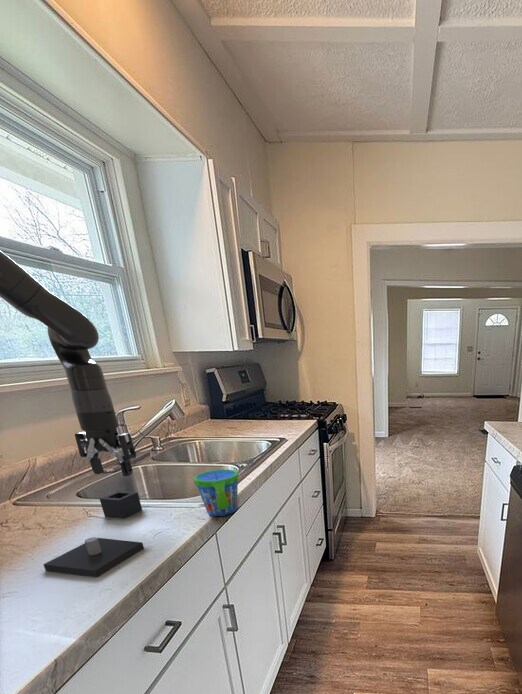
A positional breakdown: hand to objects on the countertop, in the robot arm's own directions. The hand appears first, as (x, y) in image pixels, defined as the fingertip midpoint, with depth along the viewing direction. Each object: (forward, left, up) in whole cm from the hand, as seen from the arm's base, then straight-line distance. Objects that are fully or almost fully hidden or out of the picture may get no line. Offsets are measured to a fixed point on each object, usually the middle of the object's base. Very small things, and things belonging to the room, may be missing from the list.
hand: (113, 474), depth 101 cm
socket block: (0, 0, -11) cm, 11 cm away
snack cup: (+25, +6, -11) cm, 28 cm away
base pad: (+14, -22, -11) cm, 28 cm away
